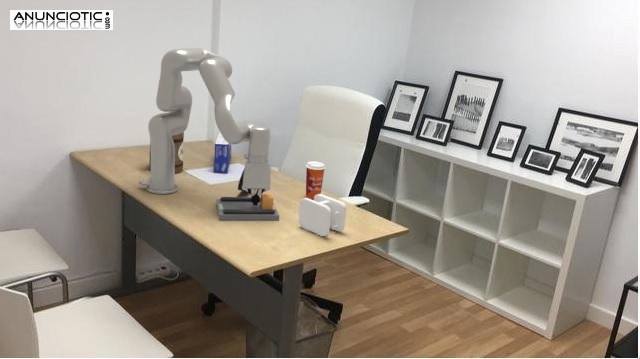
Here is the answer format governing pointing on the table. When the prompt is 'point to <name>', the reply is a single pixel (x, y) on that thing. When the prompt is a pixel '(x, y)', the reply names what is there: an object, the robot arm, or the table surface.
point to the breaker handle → (266, 201)
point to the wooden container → (176, 152)
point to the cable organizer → (322, 214)
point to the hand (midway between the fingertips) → (255, 204)
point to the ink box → (222, 155)
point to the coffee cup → (314, 179)
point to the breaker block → (244, 210)
